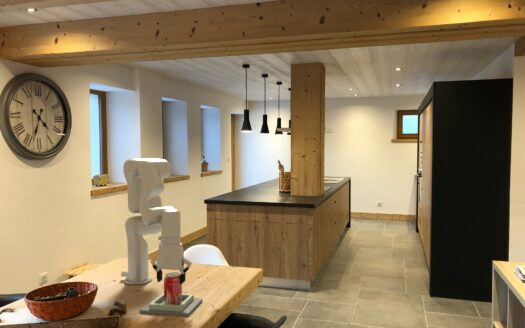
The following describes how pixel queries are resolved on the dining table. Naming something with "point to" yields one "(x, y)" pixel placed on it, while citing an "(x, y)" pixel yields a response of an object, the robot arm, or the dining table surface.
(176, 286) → the soda can
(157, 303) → the holder board
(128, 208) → the robot arm
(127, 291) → the dining table surface
